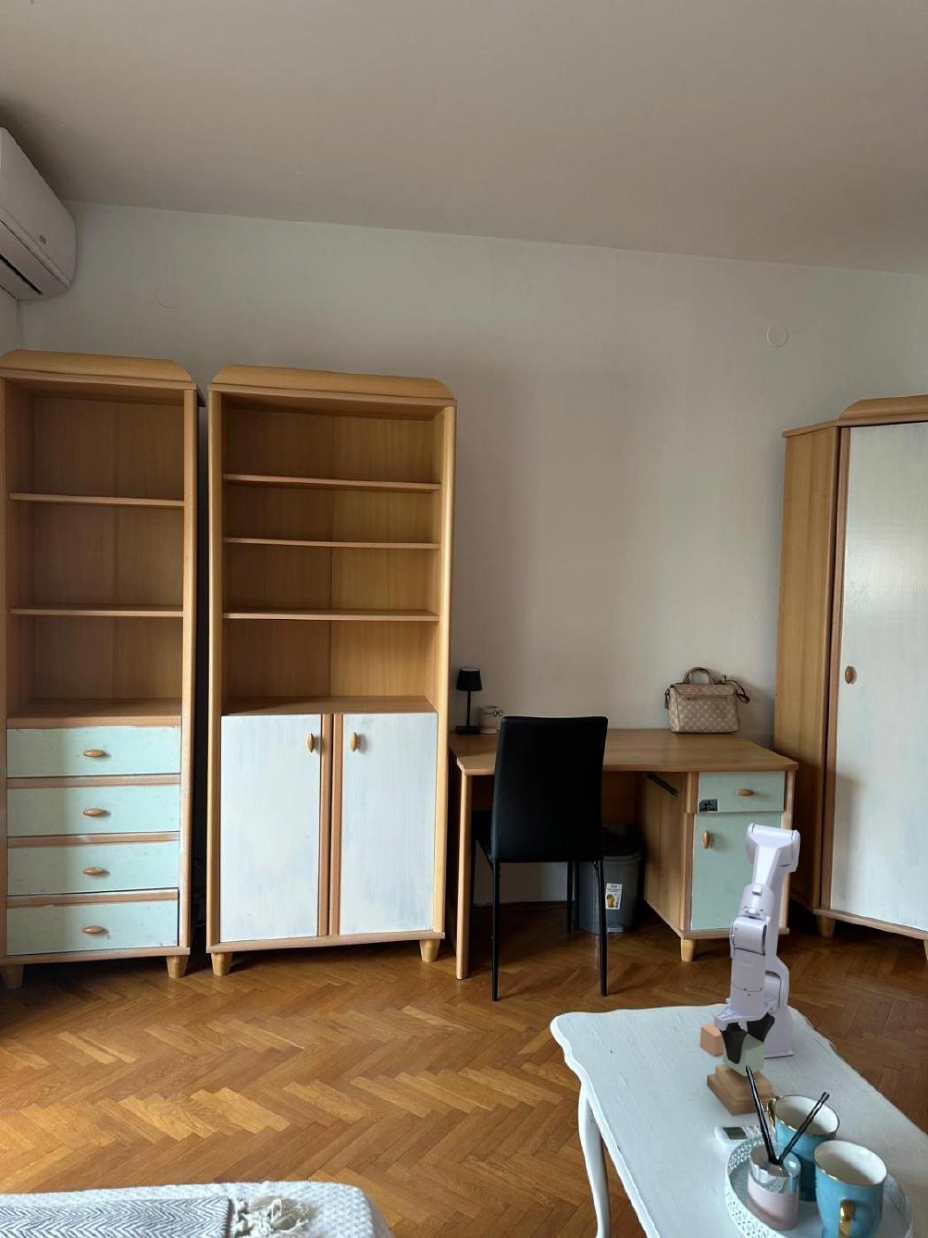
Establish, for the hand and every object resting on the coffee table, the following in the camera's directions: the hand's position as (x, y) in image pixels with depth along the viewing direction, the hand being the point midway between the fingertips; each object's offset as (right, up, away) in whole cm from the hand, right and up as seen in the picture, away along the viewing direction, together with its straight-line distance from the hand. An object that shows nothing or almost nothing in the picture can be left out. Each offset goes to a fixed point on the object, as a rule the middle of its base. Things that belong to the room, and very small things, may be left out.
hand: (743, 1056), depth 155 cm
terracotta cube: (-1, -6, +16) cm, 17 cm away
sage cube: (0, -2, 0) cm, 2 cm away
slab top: (0, -6, 0) cm, 6 cm away
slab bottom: (0, -8, 0) cm, 8 cm away
